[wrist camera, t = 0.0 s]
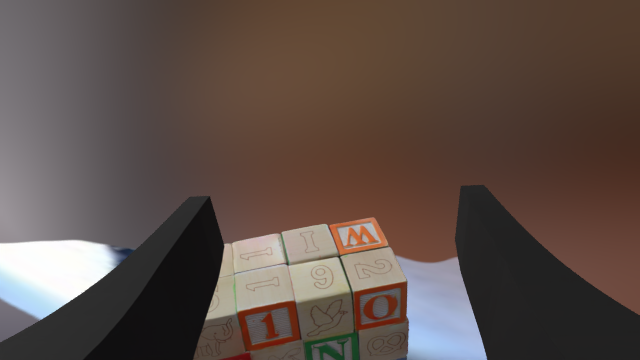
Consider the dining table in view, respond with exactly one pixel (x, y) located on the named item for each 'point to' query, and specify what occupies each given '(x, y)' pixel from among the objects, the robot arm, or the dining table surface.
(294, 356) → the stack of blocks
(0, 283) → the dining table surface
